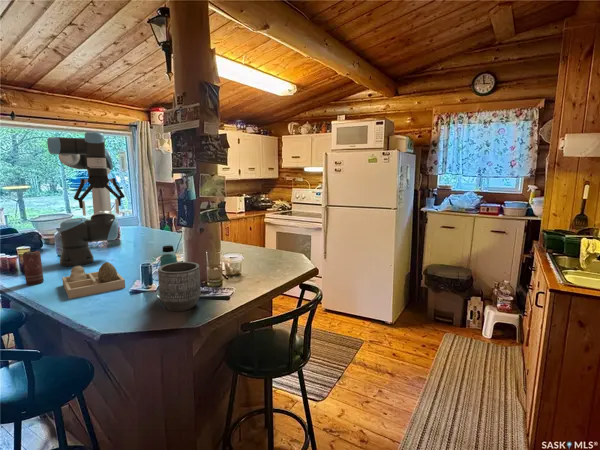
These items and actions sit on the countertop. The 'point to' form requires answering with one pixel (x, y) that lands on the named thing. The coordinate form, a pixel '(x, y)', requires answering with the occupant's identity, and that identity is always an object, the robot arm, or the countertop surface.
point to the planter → (179, 285)
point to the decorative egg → (107, 273)
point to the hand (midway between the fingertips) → (101, 214)
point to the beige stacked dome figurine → (77, 274)
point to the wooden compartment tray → (90, 285)
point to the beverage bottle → (168, 256)
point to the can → (33, 267)
